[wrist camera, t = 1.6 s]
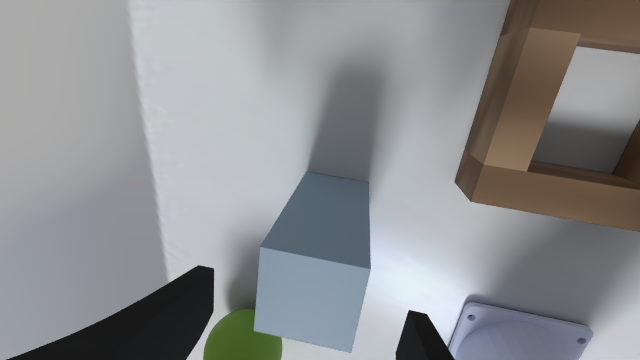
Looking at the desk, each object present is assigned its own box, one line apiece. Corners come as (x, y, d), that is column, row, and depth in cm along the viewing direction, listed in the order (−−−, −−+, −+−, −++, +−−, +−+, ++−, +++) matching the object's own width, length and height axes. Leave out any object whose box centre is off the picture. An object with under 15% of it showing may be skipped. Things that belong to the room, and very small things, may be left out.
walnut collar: (634, 212, 17) (686, 240, 14) (454, 182, 18) (470, 201, 15) (742, 17, 14) (839, 2, 11) (514, -9, 15) (549, -29, 12)
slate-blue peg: (357, 237, 20) (351, 353, 12) (299, 226, 21) (253, 330, 12) (368, 182, 19) (370, 269, 10) (306, 171, 19) (260, 247, 11)
